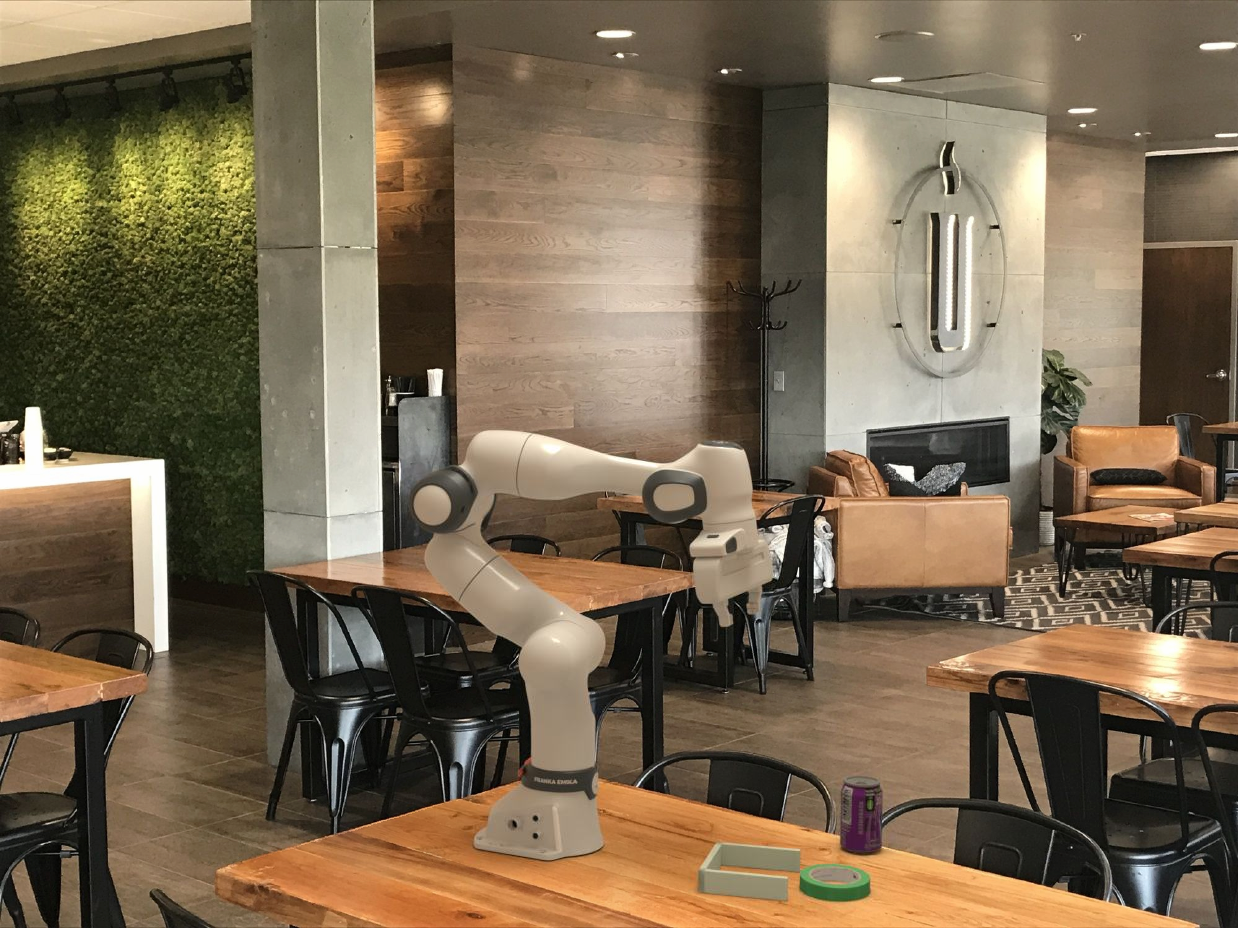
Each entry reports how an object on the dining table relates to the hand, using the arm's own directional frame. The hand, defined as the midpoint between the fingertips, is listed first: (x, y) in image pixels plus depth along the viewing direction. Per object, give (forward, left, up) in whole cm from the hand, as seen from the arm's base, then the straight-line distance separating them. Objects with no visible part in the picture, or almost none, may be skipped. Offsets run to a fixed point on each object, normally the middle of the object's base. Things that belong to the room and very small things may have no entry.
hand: (740, 619), depth 242 cm
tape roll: (+17, -9, -41) cm, 46 cm away
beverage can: (+19, +12, -41) cm, 47 cm away
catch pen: (+4, -9, -41) cm, 42 cm away
